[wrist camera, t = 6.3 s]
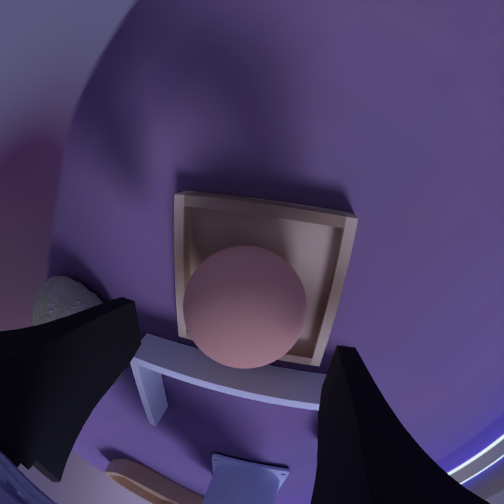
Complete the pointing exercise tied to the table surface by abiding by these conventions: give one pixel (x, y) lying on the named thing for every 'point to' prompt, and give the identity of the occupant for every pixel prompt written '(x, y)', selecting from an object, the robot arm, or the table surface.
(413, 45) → the table surface
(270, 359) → the ball
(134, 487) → the lamp
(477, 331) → the table surface
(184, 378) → the white u-shaped arch
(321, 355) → the tray
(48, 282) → the sea urchin shell
